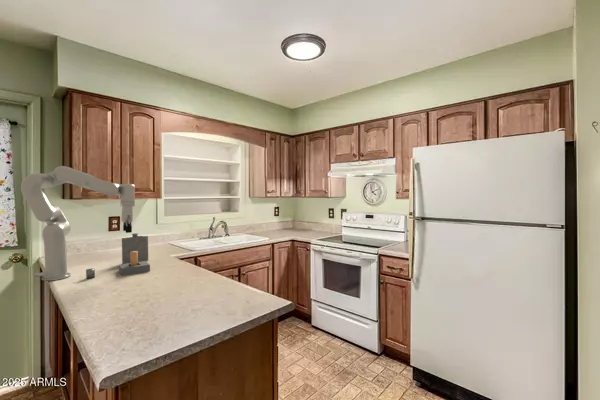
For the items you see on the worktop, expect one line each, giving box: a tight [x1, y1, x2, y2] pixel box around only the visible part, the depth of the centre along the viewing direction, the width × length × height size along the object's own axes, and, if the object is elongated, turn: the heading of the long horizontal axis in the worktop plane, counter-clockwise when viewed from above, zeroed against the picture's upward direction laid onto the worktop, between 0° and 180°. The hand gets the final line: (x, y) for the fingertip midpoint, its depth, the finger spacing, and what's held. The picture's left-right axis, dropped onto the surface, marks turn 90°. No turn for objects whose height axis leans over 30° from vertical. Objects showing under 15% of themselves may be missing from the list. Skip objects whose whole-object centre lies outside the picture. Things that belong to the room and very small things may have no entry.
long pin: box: [130, 251, 138, 266], centre depth 179 cm, size 4×4×12 cm
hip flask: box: [121, 232, 149, 264], centre depth 201 cm, size 16×4×20 cm, turn 127°
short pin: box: [85, 267, 96, 280], centre depth 165 cm, size 4×4×5 cm
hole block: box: [118, 261, 151, 276], centre depth 179 cm, size 15×12×4 cm
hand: (127, 231), depth 179 cm, fingers open, 9 cm apart
